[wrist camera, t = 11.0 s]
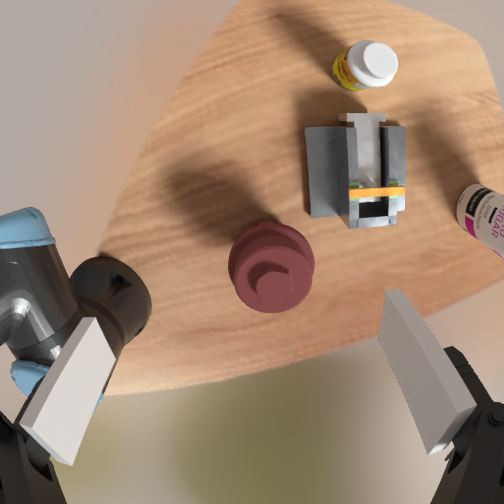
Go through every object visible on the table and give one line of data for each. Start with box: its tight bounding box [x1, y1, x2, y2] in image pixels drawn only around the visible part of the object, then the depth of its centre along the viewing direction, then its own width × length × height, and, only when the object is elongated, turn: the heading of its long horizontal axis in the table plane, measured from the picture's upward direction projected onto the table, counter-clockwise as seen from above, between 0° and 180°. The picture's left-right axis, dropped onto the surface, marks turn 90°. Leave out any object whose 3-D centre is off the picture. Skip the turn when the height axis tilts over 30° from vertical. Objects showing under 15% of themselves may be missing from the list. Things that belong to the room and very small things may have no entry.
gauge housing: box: [304, 126, 406, 229], centre depth 35 cm, size 14×12×6 cm
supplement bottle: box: [331, 40, 398, 91], centre depth 27 cm, size 6×6×10 cm
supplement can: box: [457, 184, 504, 259], centre depth 32 cm, size 8×8×15 cm
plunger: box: [338, 113, 405, 203], centre depth 33 cm, size 7×11×6 cm, turn 7°
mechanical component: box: [228, 221, 315, 313], centre depth 36 cm, size 12×10×10 cm
